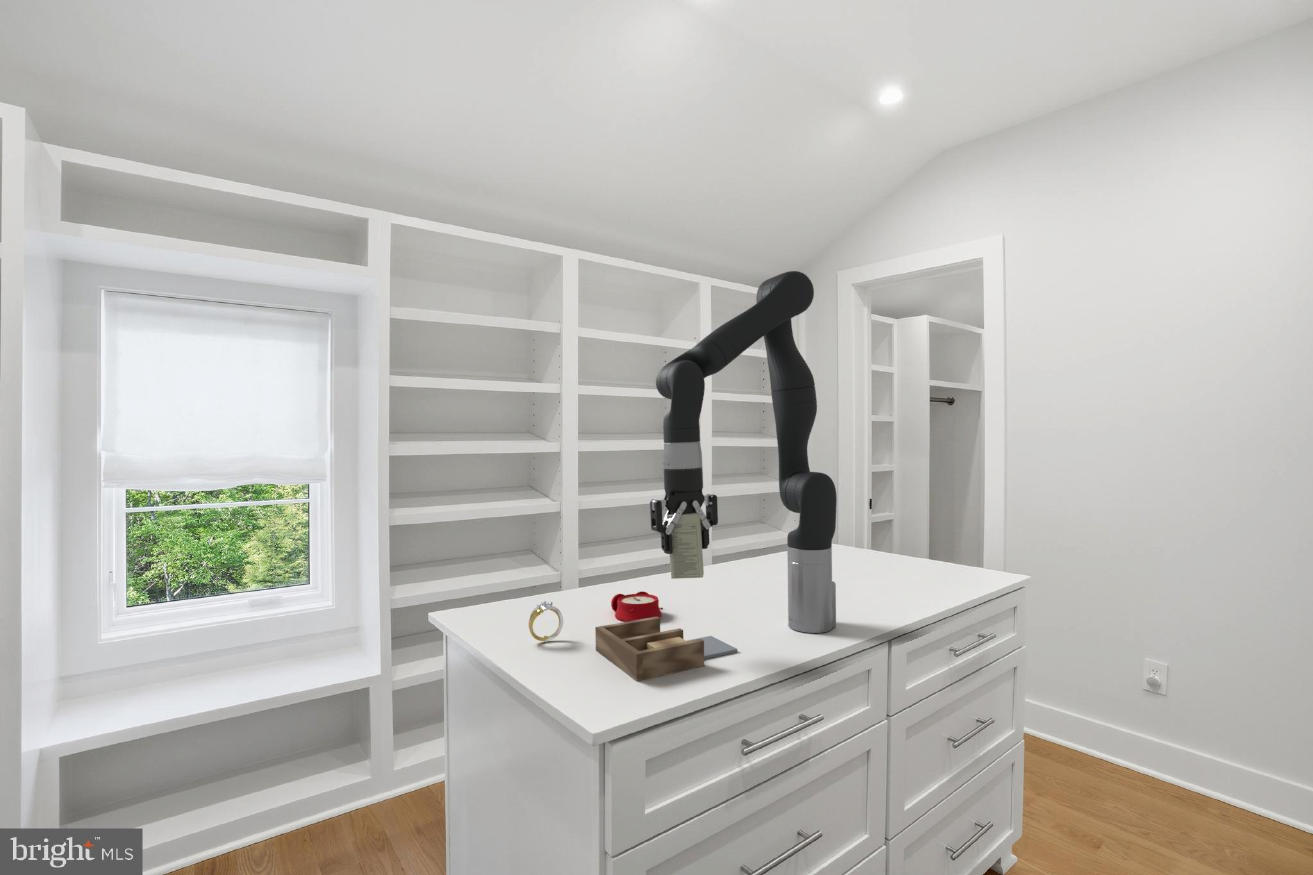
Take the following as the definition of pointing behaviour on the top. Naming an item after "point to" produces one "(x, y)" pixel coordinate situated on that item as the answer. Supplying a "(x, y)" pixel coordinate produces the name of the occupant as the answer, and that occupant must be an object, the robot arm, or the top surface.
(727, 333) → the robot arm
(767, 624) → the top surface
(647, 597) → the alarm clock
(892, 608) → the top surface
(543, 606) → the engagement ring
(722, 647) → the slate mat
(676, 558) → the skincare box
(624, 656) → the walnut rack
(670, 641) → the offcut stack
